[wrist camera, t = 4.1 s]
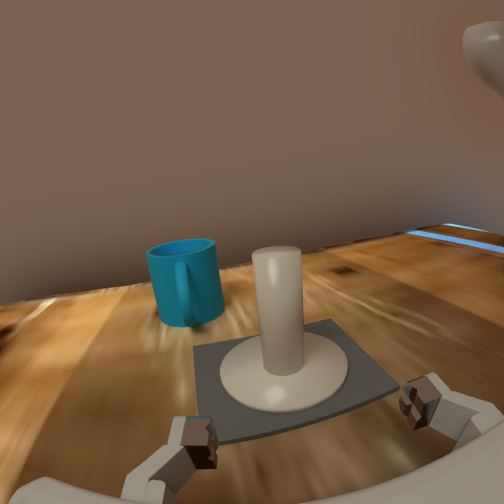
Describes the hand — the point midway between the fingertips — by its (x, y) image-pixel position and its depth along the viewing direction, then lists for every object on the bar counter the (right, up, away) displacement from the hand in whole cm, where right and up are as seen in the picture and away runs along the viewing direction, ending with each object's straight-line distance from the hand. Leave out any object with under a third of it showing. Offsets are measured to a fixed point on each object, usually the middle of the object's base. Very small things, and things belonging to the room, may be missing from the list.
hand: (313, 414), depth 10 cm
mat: (0, -3, +11) cm, 12 cm away
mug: (-9, -1, +23) cm, 24 cm away
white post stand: (0, -3, +11) cm, 12 cm away
